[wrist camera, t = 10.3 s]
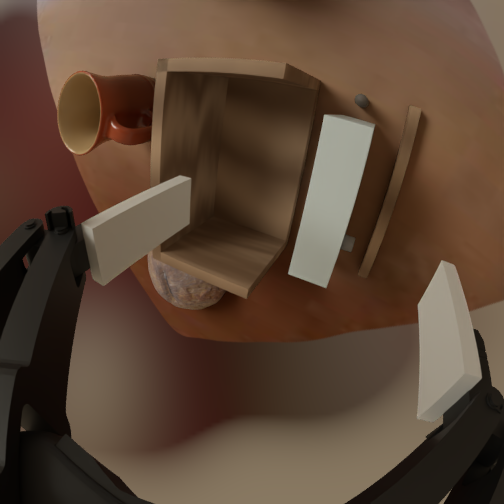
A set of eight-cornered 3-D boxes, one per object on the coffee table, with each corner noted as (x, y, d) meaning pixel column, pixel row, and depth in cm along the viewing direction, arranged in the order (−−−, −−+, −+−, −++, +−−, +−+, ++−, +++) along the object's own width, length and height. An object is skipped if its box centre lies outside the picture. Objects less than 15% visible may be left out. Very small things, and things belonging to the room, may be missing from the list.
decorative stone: (181, 303, 43) (159, 324, 39) (145, 233, 40) (118, 250, 35) (243, 299, 37) (223, 325, 33) (206, 213, 33) (177, 231, 29)
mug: (117, 121, 33) (52, 137, 24) (135, 61, 27) (66, 63, 19) (179, 161, 31) (111, 186, 23) (206, 93, 26) (134, 95, 18)
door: (342, 114, 22) (324, 114, 15) (385, 127, 21) (388, 133, 14) (315, 228, 28) (288, 273, 21) (352, 241, 27) (337, 292, 20)
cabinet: (226, 68, 24) (157, 59, 16) (419, 109, 19) (444, 105, 11) (209, 218, 33) (152, 258, 25) (367, 273, 28) (354, 340, 20)
